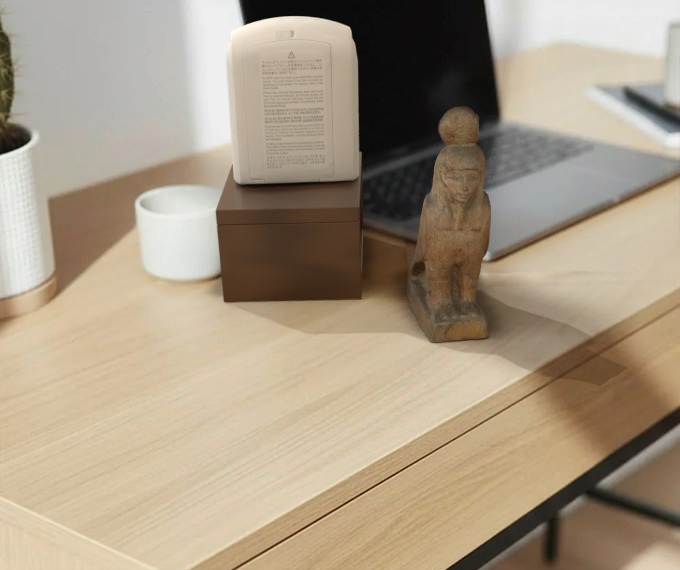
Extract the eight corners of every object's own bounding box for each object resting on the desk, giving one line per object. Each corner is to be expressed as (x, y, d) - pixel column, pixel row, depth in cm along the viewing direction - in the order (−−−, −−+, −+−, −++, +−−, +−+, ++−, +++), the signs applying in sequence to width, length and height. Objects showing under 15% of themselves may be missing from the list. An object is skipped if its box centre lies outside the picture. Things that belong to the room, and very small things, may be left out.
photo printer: (358, 168, 100) (354, 9, 93) (362, 183, 96) (358, 19, 89) (234, 174, 99) (222, 15, 93) (233, 190, 96) (220, 25, 89)
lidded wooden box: (363, 235, 108) (361, 151, 104) (361, 299, 95) (359, 206, 91) (241, 237, 108) (235, 154, 104) (223, 302, 96) (215, 210, 92)
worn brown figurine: (487, 368, 90) (509, 143, 77) (414, 370, 90) (424, 146, 77) (469, 279, 98) (486, 64, 86) (402, 281, 98) (409, 66, 85)
